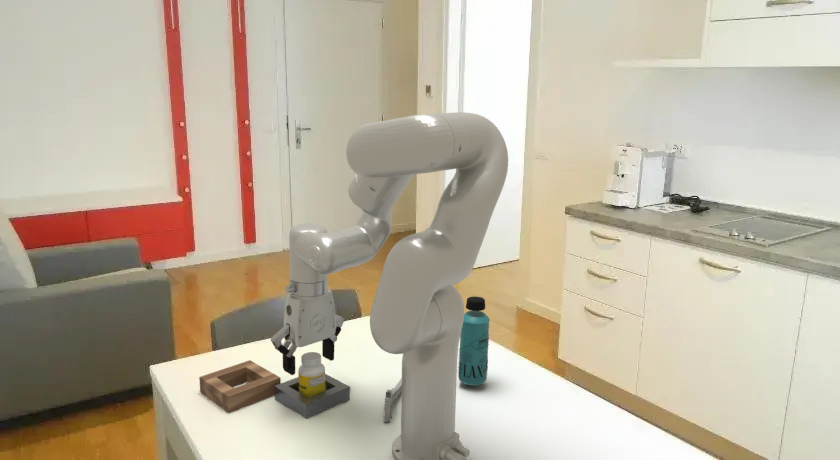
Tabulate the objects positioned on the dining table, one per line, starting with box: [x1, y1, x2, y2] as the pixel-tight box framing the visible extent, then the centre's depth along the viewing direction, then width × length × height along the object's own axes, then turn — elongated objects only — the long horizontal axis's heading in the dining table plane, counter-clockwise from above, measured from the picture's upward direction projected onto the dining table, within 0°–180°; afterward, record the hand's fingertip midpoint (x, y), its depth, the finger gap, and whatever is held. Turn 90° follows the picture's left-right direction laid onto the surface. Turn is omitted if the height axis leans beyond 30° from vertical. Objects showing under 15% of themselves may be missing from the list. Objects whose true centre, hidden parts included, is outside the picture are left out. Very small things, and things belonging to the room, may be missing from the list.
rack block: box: [198, 359, 282, 414], centre depth 131 cm, size 12×12×4 cm
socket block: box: [274, 373, 351, 420], centre depth 129 cm, size 11×11×3 cm
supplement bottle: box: [297, 351, 326, 398], centre depth 128 cm, size 5×5×10 cm
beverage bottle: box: [457, 296, 491, 386], centre depth 135 cm, size 6×7×20 cm
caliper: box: [383, 377, 402, 424], centre depth 130 cm, size 20×1×6 cm, turn 170°
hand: (309, 365), depth 128 cm, fingers open, 9 cm apart
